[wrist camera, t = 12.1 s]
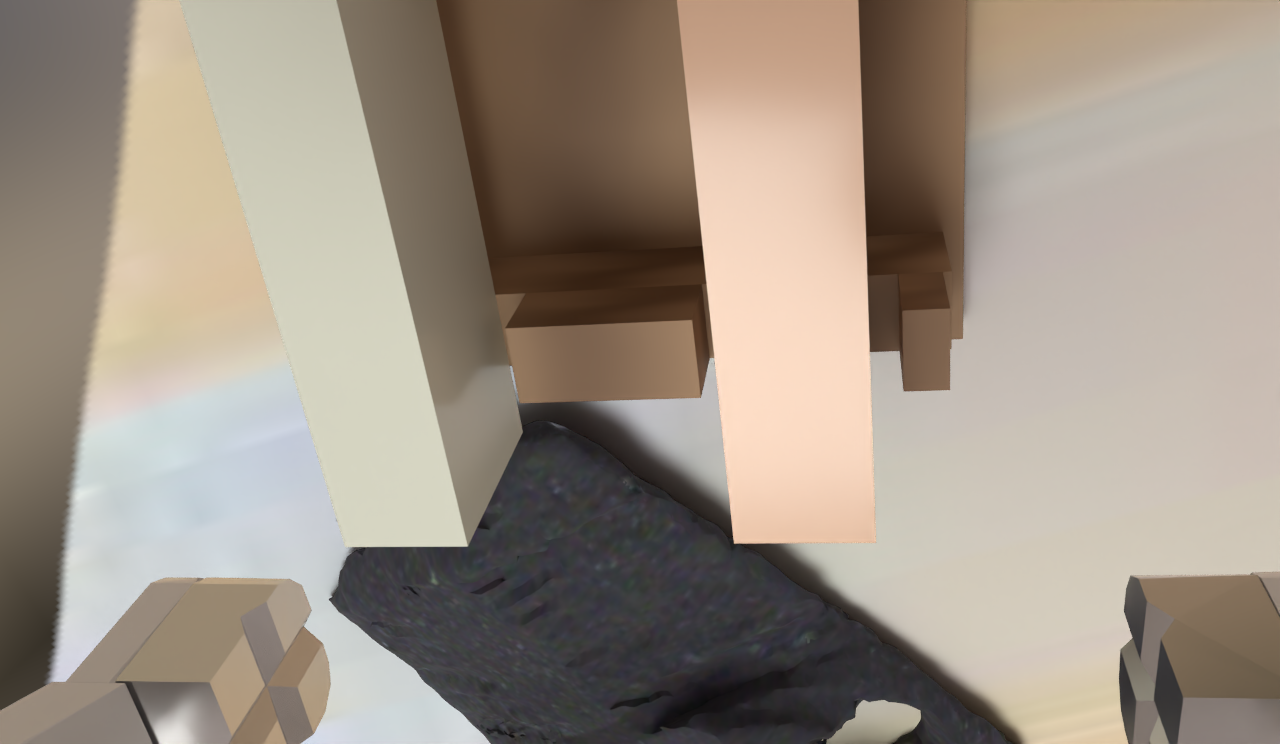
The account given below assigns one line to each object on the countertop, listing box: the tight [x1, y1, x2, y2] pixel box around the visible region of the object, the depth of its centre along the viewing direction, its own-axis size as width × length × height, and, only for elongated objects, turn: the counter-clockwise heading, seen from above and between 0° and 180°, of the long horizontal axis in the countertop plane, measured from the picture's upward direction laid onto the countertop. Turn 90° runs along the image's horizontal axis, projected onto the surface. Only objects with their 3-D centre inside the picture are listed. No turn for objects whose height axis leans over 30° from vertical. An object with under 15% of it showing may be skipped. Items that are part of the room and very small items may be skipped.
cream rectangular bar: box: [179, 0, 523, 547], centre depth 24 cm, size 16×3×5 cm, turn 7°
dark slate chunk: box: [329, 421, 1013, 744], centre depth 36 cm, size 15×22×5 cm
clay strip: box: [677, 0, 876, 544], centre depth 22 cm, size 16×3×5 cm, turn 7°
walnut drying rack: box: [436, 0, 966, 403], centre depth 26 cm, size 17×14×6 cm
